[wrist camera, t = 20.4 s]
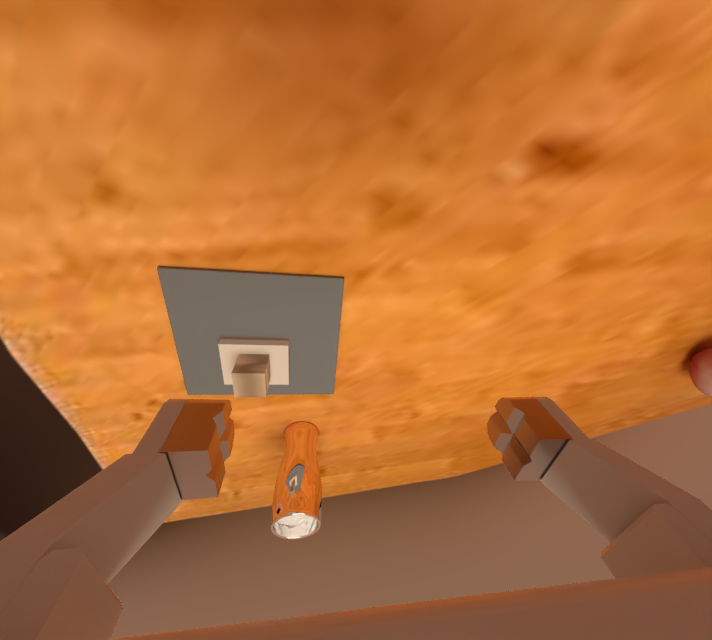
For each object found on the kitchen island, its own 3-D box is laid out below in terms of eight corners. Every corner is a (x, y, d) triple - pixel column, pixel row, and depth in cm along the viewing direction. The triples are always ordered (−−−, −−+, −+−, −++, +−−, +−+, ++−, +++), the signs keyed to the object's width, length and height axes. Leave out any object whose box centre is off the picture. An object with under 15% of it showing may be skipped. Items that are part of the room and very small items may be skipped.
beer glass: (299, 413, 49) (292, 507, 36) (329, 430, 52) (332, 522, 39) (273, 435, 51) (258, 531, 38) (303, 450, 54) (299, 544, 41)
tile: (288, 345, 39) (218, 344, 38) (288, 384, 43) (224, 384, 41) (289, 339, 41) (221, 337, 39) (289, 377, 44) (227, 377, 43)
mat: (343, 277, 37) (344, 278, 37) (333, 391, 47) (333, 394, 47) (159, 266, 34) (156, 268, 34) (189, 391, 44) (187, 394, 43)
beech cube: (269, 354, 40) (264, 373, 36) (270, 376, 41) (266, 396, 38) (238, 353, 39) (231, 373, 35) (241, 376, 41) (234, 397, 37)
